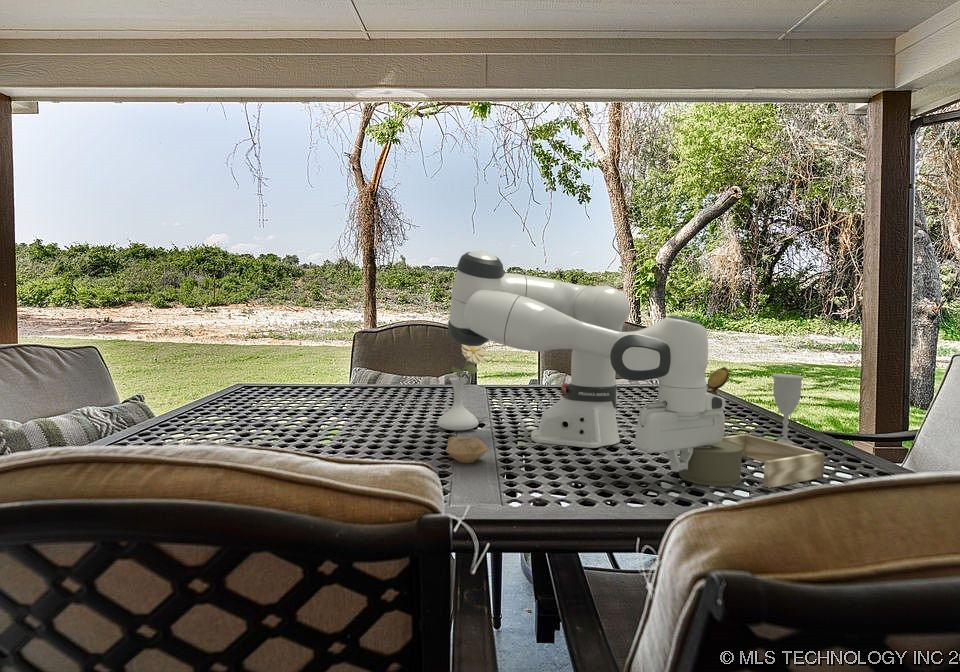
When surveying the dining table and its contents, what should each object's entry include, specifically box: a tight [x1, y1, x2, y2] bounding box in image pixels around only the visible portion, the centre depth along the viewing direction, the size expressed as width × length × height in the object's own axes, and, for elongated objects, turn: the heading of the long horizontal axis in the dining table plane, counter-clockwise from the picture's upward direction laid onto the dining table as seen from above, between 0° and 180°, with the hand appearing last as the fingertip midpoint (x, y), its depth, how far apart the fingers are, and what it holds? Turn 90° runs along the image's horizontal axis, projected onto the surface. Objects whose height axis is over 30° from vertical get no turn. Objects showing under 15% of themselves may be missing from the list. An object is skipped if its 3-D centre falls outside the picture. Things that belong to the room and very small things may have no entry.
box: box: [723, 433, 825, 489], centre depth 128 cm, size 17×19×5 cm
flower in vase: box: [436, 344, 486, 431], centre depth 163 cm, size 13×11×25 cm
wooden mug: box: [706, 366, 730, 396], centre depth 161 cm, size 9×14×18 cm, turn 114°
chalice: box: [772, 373, 804, 446], centre depth 145 cm, size 7×7×18 cm
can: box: [678, 440, 743, 488], centre depth 121 cm, size 12×12×7 cm
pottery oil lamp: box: [445, 436, 489, 464], centre depth 133 cm, size 9×12×7 cm
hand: (679, 470), depth 117 cm, fingers closed
